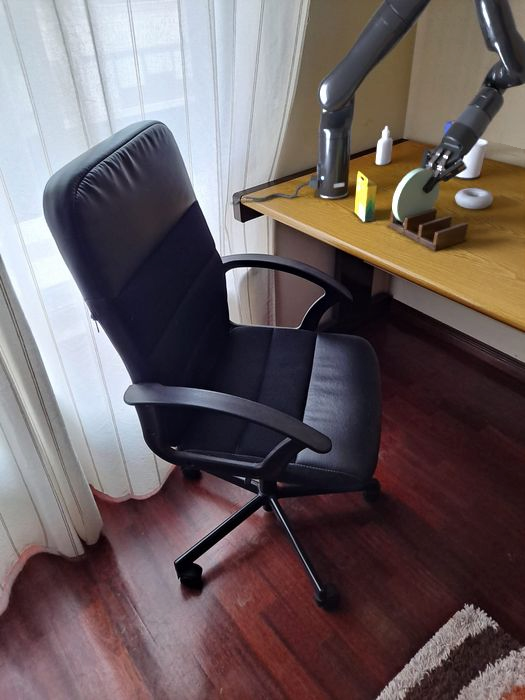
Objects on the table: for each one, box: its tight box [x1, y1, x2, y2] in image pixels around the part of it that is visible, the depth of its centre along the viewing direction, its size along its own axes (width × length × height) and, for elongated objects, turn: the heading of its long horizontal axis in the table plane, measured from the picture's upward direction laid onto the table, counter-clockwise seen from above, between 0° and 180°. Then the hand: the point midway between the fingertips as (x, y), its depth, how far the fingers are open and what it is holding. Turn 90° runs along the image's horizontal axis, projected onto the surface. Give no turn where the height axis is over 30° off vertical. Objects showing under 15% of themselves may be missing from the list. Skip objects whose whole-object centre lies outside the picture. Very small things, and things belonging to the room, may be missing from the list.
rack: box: [389, 208, 469, 252], centre depth 126 cm, size 17×10×4 cm, turn 29°
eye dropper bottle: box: [375, 125, 394, 166], centre depth 168 cm, size 4×6×12 cm
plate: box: [391, 167, 441, 226], centre depth 126 cm, size 2×14×14 cm, turn 119°
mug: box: [454, 138, 489, 181], centre depth 156 cm, size 11×9×10 cm
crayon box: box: [354, 170, 378, 223], centre depth 134 cm, size 7×3×12 cm, turn 12°
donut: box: [454, 187, 494, 210], centre depth 140 cm, size 10×4×10 cm
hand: (421, 190), depth 126 cm, fingers closed on plate, 2 cm apart
